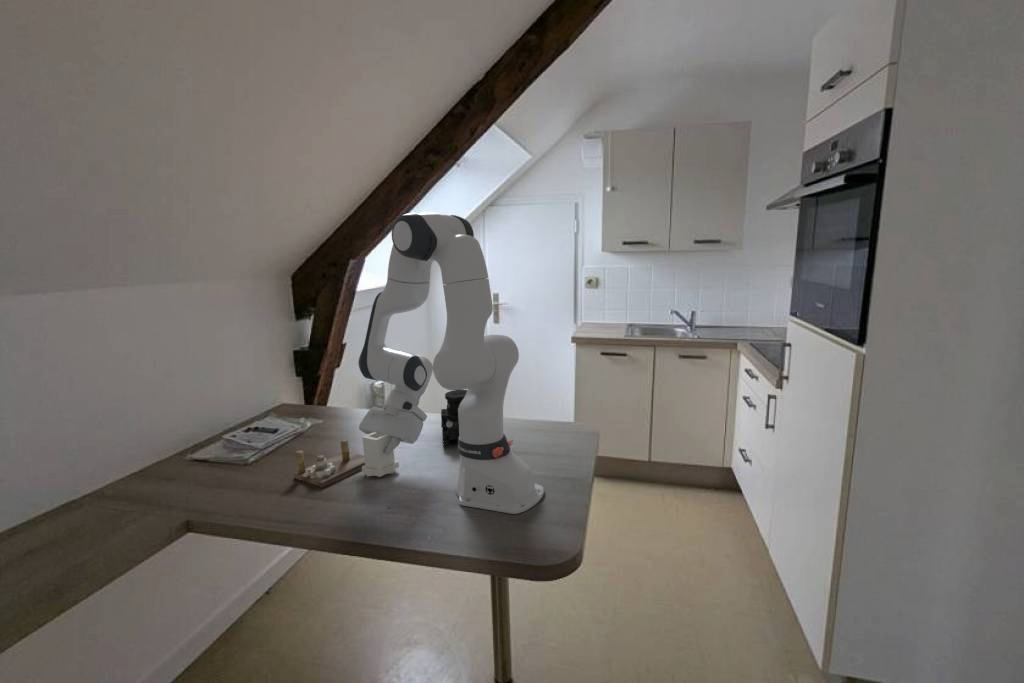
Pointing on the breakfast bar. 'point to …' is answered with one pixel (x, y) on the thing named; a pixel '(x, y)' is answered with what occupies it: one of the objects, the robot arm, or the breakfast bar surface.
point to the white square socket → (378, 455)
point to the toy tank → (451, 415)
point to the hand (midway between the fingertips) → (377, 451)
